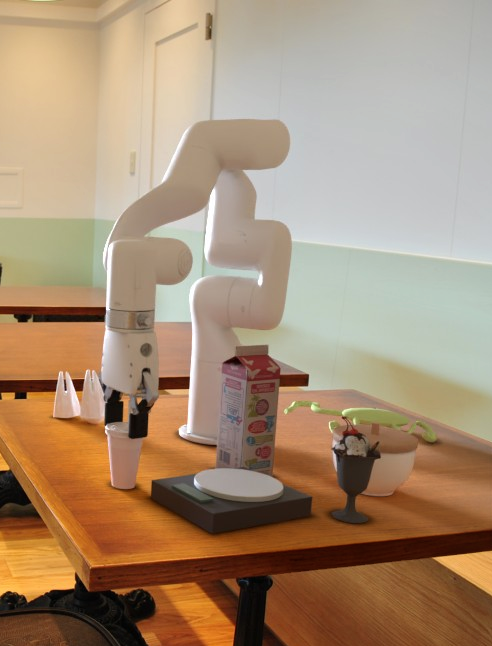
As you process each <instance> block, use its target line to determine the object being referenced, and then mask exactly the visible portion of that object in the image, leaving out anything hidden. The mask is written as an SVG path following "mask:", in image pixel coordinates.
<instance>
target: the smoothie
mask: <svg viewBox="0 0 492 646" xmlns="http://www.w3.org/2000/svg"><path fill="white" fill-rule="evenodd" d="M127 405H128V406H127V407H128V408H127V421H123V422H114V423H110V424H108V425H106V426H105V432H104V433H105V434H106V435H107V445H108V457H109V469H110V480H111V486H112V487H113V488H115V489H119V490H131V489H134V488H135V486H136V483H137V477H138V476H137V475H138V472H139V471H138V470H139V464H140V459H141V453H142V447H143V443H144V442H143V440H144V438H137V439H131V438H129V436H128V435H129V413H132V408H131V403H130V399H129V400H128V404H127Z"/></svg>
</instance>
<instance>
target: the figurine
mask: <svg viewBox="0 0 492 646" xmlns="http://www.w3.org/2000/svg"><path fill="white" fill-rule="evenodd" d="M298 407H307V408H310V410H311V411H313V412H314V413H316V414H321V415H325V416H336V417H342V416H343V417H347V419H348V420H349V421H352V423H353V424H363V425H372V422H378V423H380V426H383V427H388V428H393V429H397V430H401V431H402V427H403V426H407V425H409V423H410V422H411V420H410V419H409V418H408V417H407V416H405V415H403V414H400V413H398V412H394V411H391V410H386V409H382V408H381V409H380V408H377V407H353V408H346V409H344V410H341V409H331V408H322V407H321V405H320V404H319V403H318V402H315V401H309V400H295V401H293V402H292V403H291V405H290V406H288V407H286V408H284V410H283V413H284V415H288V414H290V413H292V412H294V410H296V409H297V408H298ZM338 426H341V424H340V423H339V422H338V421H337V420H332V421H329V422H328V428H329V430H330V433H331V435H332V434H333V430H334V428H336V427H338ZM417 426H419V427H420V428H421V429H423V430H424V431H425V432H422V433H421V438H423V440H424V441H426V442H428V443H435V442H436V441H437V435H436V432H435V431H434V429H432V427H431V426H430V425H429V424H427V423H426V422H424V421H422V420H417V421H415V422H413V423H412V424H411V426H410V428H409V430H408V431H407V433H409V434H411V435H413V434H414V432H415V430H416V428H417Z"/></svg>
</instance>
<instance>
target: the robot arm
mask: <svg viewBox="0 0 492 646" xmlns="http://www.w3.org/2000/svg"><path fill="white" fill-rule="evenodd" d="M290 147H291V136H290V131H289V129H288V127H287V125H286V124H285V123H284V122H283V121H281V120H280V119H259V118H258V119H257V118H256V119H255V118H235V119H234V118H233V119H232V118H231V119H230V118H229V119H209V120H208V119H207V120H200V121H197V122H194V123H193V124H191V125H189V126H188V127H187V128H186V130H185V131H184V133H183V134H182V137H181V139H180V141H179V143H178V145H177V147H176V150H175V152H174V153H173V156H172V158H171V161H170V163H169V165H168V167H167V169H166V171H165V174H164V176H163V178H162V180H161V182H160V183H159V184H158V185H156V186H155V187H153V188H151V189H149V190H148V191H147V192H145V193H143V194H142V195H141V196H139V197H138V198H137V199H135V200H134V201H133V202H131V203H130V204H129V205H128V206H127V207H126V208H125V209H124V210H123V211H122V212H121V214H120V215H119V216H118V218H117V219H116V221H115V223H114V225H113V227H112V230H111V231H110V233H109V235H108V238H107V241H106V244H105V247H104V250H103V258H102V263H103V268H104V271H105V273H106V274H107V275H106V276H107V279H106V300H105V301H106V305H105V332H104V338H103V346H102V353H101V354H102V356H101V370H100V371H99V373H98V379H99V381H100V384H101V387H102V390H103V393H104V397H103V399H104V401H105V402H106V403H105V420H104V421H103V422H104V423H103V425H104V427H106V425H108V424H110V423H114V422H124V405H125V404H124V403H125V401H123V400H122V399H123V395H124V394H125V395H127V396H128V397H129V400H130V403H131V408H132V413H129V435H128V436H129V438H131V439H137V438H143V439H145V438H148V436H149V417H150V415H149V414H151V412H152V408H153V407H154V405H155V403H156V402H157V400H159V398H160V393H159V382H160V379H159V378H160V366H159V365H160V362H159V345H158V338H157V332H156V331H155V319H156V300H157V299H156V298H157V285H159V286H174V285H178V284H180V283H182V282H183V281H184V280H186V279H187V278H188V277H189V274H190V273H191V271H192V268H193V262H194V260H193V258H194V257H193V253H192V249H190V247H189V245H188V244H187V243H185V242H184V241H183V240H181V239H177V238H174V237H162V236H161V237H158V236H146V235H147V234H149V233H150V232H152V231H153V230H156V229H157V228H159V227H162V226H164V225H168V224H170V223H174V222H177V221H180V220H182V219H186V218H188V217H190V216H191V217H192V216H193V215H196V214H197V213H199V212H201V211H202V210H204V209H205V208H206V207H207V205H208V203H209V209H208V216H207V222H206V231H205V232H206V233H205V239H204V258H205V261H206V262H207V263H208V264H209V265H210V266H212V267H215V268H218V269H226V270H240V271H254V272H258V274H259V278H257V277H243V276H234V275H223V274H222V275H221V274H212V275H206V276H203V277H200V278H198V279H197V280H196V281H195V282H194V283H193V284H192V286H191V288H190V292H189V311H190V316H191V317H190V318H191V332H192V333H191V335H192V336H191V337H192V338H191V356H190V357H191V358H190V372H189V373H190V374H189V389H188V390H189V391H188V409H187V424H184V425H181V426H179V428H178V435H179V436H180V437H181V438H182V439H184V440H186V441H189V442H193V443H196V444H201V445H208V446H209V445H210V446H217V438H218V423H219V407H220V392H221V376H222V363H223V362H224V361H226V360H228V359H230V358H232V357H234V356H235V347H236V346H242V343H241V341H240V339H239V338H238V335H237V334H236V332H235V330H234V329H235V328H238V329H247V330H257V331H271V330H274V329H276V328H277V327H278V326H279V325H280V323H281V322H282V319H283V316H284V314H285V313H284V312H285V309H286V308H285V307H286V300H287V293H288V292H287V291H288V285H289V277H290V269H291V261H292V249H293V241H292V234H291V232H290V229H289V227H288V226H287V225H286V224H285V223H284V222H282V221H280V220H276V219H275V220H274V219H256V205H257V200H258V199H257V198H258V195H257V191H256V188H255V186H254V184H253V182H252V181H251V179H250V177H249V176H248V175H247V174H246V172H245V171H261V170H262V171H263V170H270V169H276V168H278V167H280V166H281V165H282V164H283V163H284V162H285V160H286V159H287V157H288V155H289V153H290V149H291V148H290ZM233 328H234V329H233ZM138 391H140V392H138ZM138 399H141V400H140V401H139V403H138Z"/></svg>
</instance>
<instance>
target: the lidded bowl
mask: <svg viewBox="0 0 492 646" xmlns="http://www.w3.org/2000/svg"><path fill="white" fill-rule="evenodd" d="M351 425H352V426H353V428H354V429H356V430H358V432H359V433H362V434H364V435H365V436H366V437H367V438H369V441H370V447H372V446H373V445H375V443H377V442H378V441H379V444H378V446H377V447H376V450H378V451H379V452H380V454H381V458H380V459H376V460H375V461H374V465H373V468H372V472H371V476H370V480H369V483H368V486H367V489H366V490H365V491H363V492H362V493H360V494H361V495H365V496H370V497H388V496H393V494H394V492H395V491H397V490H398V489H400V488H401V487H402V486H404V484H405V483H406V482H407V481H408V480H409V478H410V476H411V475H412V472H413V469H414V466H415V460H416V454H417V449H418V446H419V440H418V438H417V437H416V436H415V435H413V434H409V433H407V432H408V431H407V432H406V431H404V430H402V429H401V430H397V429H393V428H388V427H383V426H380V423H378V422H372V425H366V424H362V423H360V424H354V423H353V424H352V423H351ZM351 425H350V424H348V426H349V427H348V431H350V430H352V427H351ZM346 429H347V424H343V425H340V426H338V427H334V430H333V434H332V433H331V435H332V436H331V437H332V448H333V447H335V445H336V444H337V442H338V440H339V439H341V438H342V437H343V435H342V432H343V431H346ZM331 452H332V453H331V454H332V462H333V466H334V470H335V472H336V473H337V462H336V454H334V451H333V450H331ZM360 494H359V495H360Z"/></svg>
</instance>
